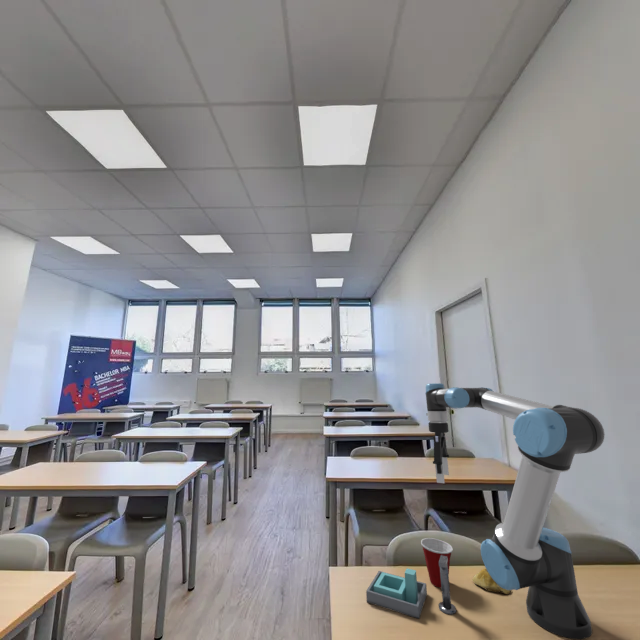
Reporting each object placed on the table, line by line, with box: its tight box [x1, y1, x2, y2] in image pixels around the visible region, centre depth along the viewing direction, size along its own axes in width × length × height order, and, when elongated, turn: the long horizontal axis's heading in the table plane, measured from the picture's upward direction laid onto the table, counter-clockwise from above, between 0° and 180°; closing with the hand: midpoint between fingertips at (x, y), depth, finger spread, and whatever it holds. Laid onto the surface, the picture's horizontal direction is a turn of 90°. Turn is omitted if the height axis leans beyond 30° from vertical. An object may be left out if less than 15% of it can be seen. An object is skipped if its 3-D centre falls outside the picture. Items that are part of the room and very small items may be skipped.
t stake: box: [438, 555, 457, 616], centre depth 96 cm, size 5×5×13 cm
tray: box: [365, 570, 428, 620], centre depth 100 cm, size 16×13×3 cm
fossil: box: [472, 568, 512, 595], centre depth 106 cm, size 11×6×10 cm
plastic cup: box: [420, 537, 454, 589], centre depth 109 cm, size 11×11×12 cm
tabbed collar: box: [374, 568, 418, 604], centre depth 101 cm, size 12×9×8 cm
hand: (443, 478), depth 121 cm, fingers open, 13 cm apart
